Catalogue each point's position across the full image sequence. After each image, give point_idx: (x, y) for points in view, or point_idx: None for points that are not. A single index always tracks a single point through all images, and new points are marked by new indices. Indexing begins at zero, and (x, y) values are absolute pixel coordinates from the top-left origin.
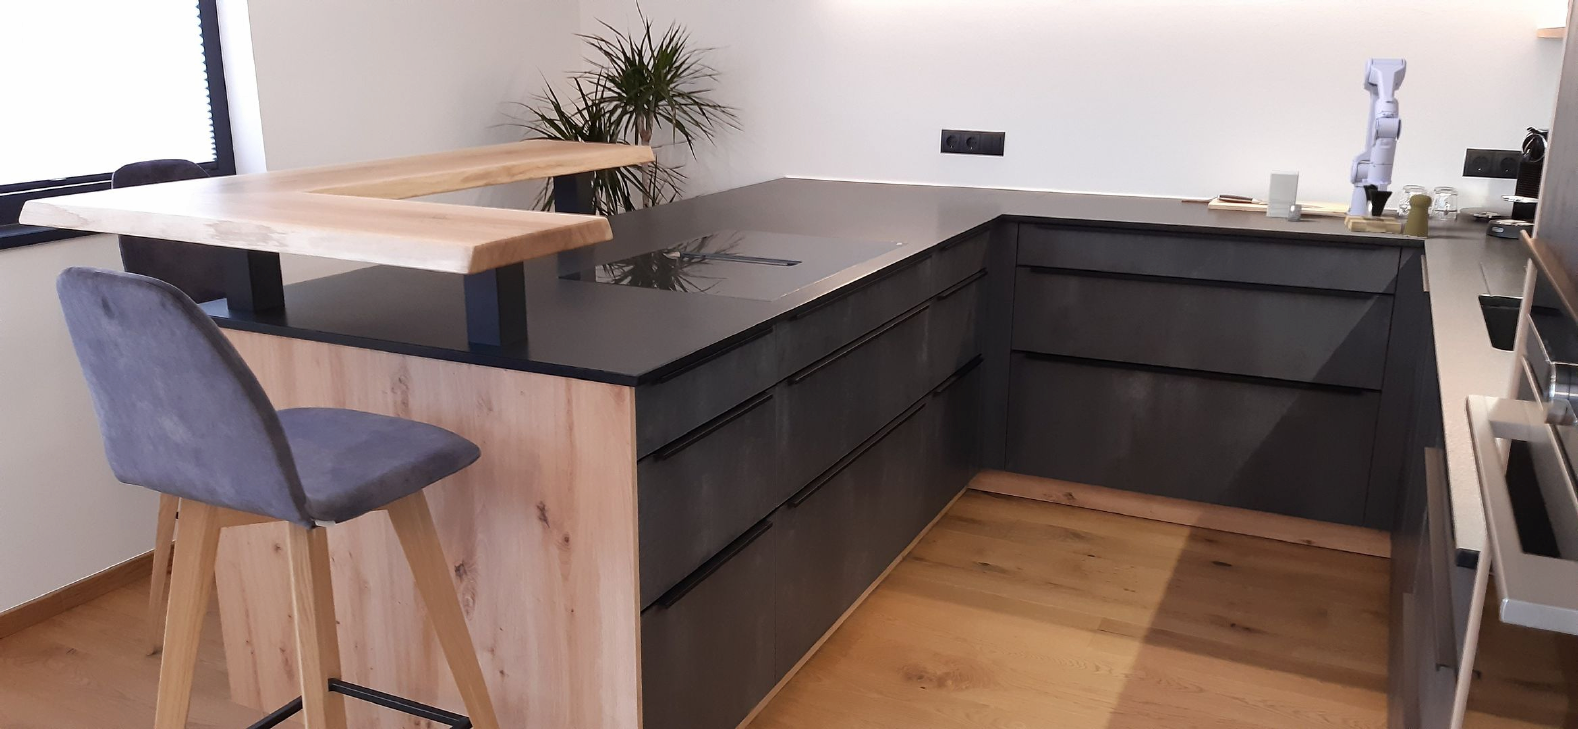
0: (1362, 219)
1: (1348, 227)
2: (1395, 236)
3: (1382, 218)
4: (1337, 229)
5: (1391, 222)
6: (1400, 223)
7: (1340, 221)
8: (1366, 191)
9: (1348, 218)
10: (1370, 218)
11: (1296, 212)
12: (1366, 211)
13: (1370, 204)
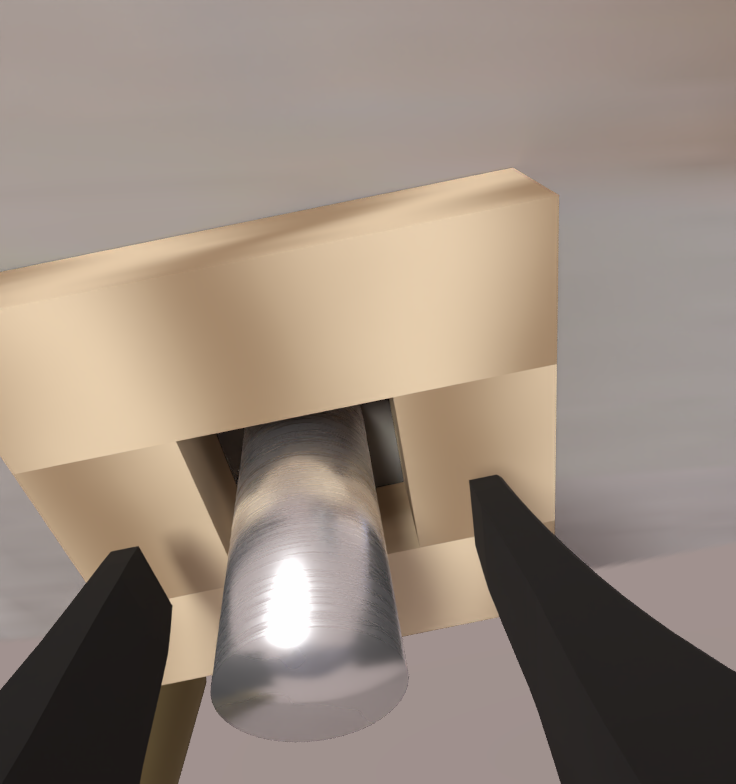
0: (230, 414)
1: (183, 237)
2: (24, 600)
3: (417, 555)
4: (13, 104)
5: (203, 629)
6: (195, 676)
7: (705, 107)
8: (597, 720)
9: (275, 249)
10: (236, 495)
11: None
12: (279, 502)
13: (223, 627)
